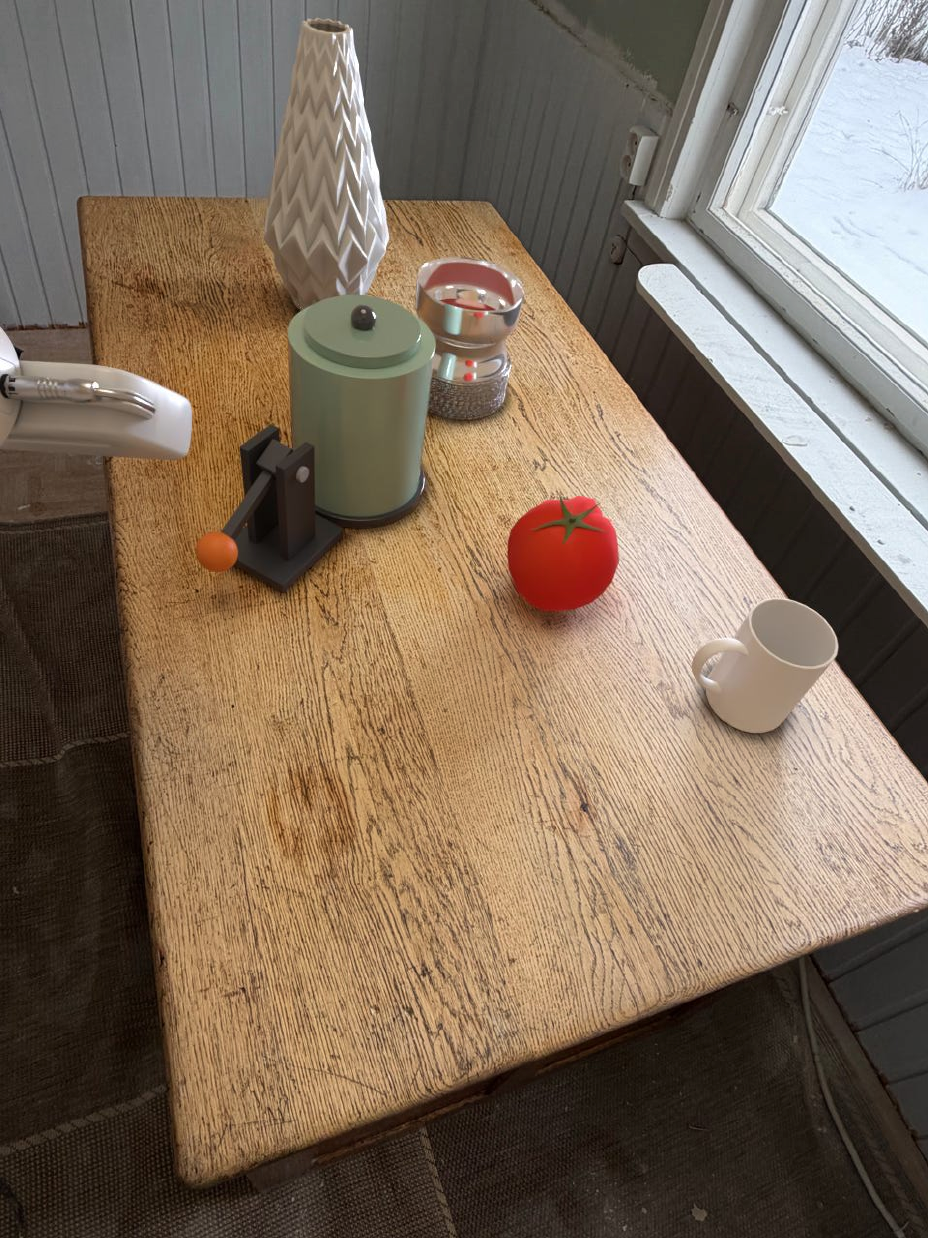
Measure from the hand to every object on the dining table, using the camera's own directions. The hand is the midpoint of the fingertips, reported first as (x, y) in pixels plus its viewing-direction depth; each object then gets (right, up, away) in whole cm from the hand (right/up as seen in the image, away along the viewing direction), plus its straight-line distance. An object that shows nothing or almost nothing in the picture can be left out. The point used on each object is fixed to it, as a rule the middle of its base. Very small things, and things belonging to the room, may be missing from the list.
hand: (82, 439), depth 51 cm
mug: (+50, -20, +23) cm, 59 cm away
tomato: (+34, -9, +30) cm, 46 cm away
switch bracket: (+7, -5, +28) cm, 29 cm away
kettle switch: (+6, -2, +21) cm, 22 cm away
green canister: (+13, +4, +36) cm, 39 cm away
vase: (+6, +33, +60) cm, 69 cm away
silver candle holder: (+24, +20, +52) cm, 60 cm away
